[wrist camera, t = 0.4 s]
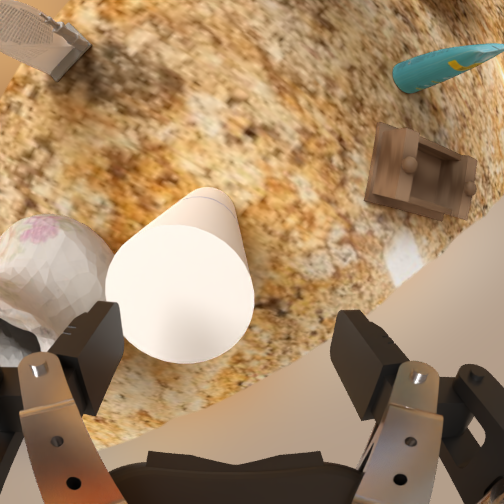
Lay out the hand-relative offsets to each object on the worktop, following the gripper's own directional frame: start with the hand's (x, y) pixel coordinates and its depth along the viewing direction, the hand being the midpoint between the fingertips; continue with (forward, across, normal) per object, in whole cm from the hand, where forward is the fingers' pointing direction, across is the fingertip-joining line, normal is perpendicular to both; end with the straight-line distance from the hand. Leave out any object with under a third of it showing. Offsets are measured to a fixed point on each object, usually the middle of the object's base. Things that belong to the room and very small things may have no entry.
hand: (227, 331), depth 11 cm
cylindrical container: (+28, +2, +1) cm, 29 cm away
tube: (+29, -24, -22) cm, 43 cm away
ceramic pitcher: (+28, +21, +10) cm, 37 cm away
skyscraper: (+29, +26, -23) cm, 45 cm away
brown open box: (+28, -26, -7) cm, 39 cm away
